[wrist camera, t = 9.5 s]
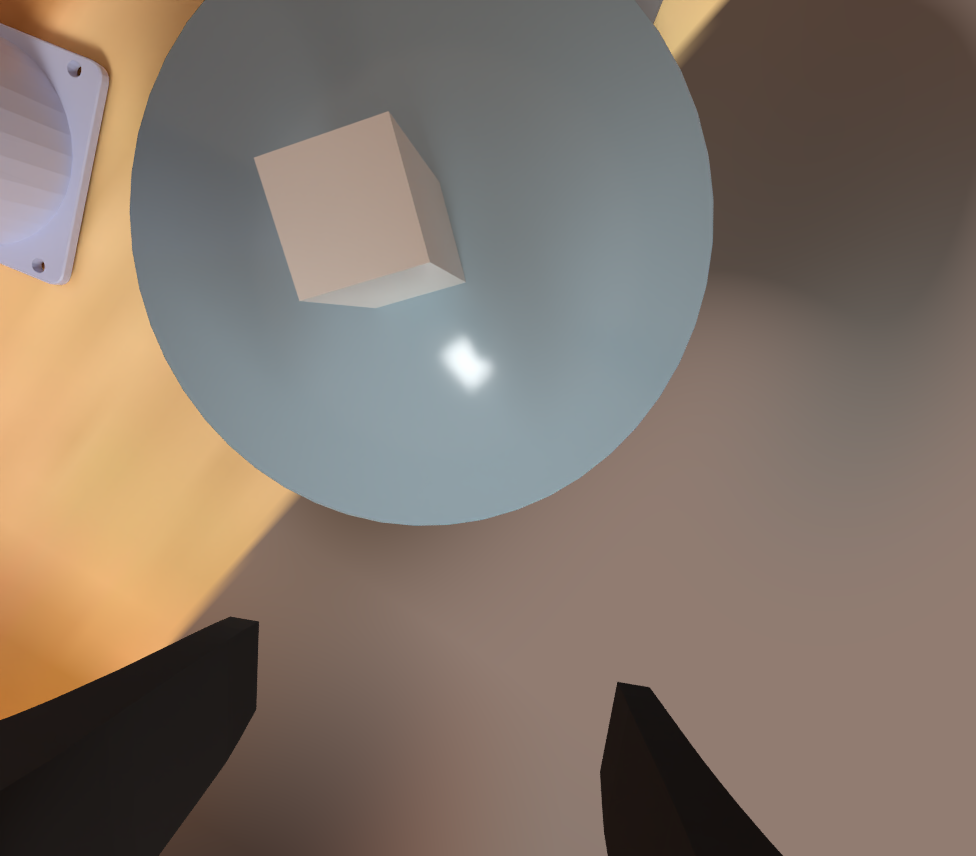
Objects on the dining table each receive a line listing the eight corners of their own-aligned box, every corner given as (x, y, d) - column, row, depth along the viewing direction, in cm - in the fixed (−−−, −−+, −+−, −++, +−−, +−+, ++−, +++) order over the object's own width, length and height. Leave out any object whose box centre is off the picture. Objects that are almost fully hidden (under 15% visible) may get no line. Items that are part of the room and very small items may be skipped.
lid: (254, 561, 18) (127, 667, 13) (66, 45, 16) (-203, -113, 10) (752, 451, 16) (868, 522, 10) (635, -184, 13) (706, -567, 8)
